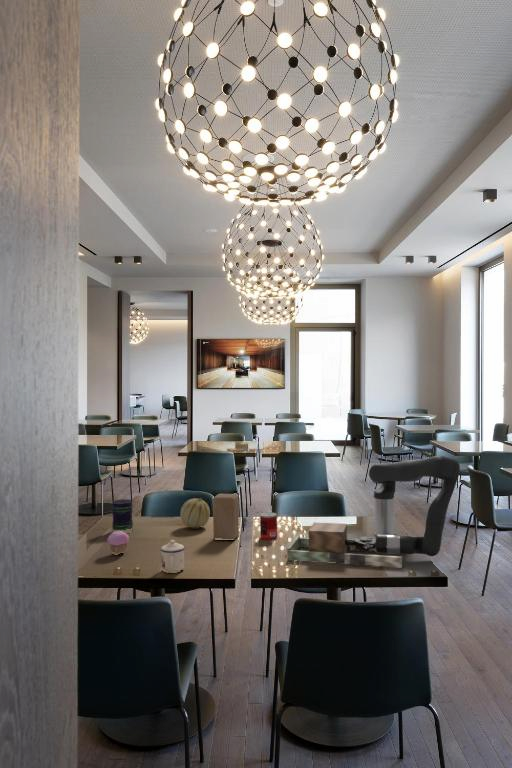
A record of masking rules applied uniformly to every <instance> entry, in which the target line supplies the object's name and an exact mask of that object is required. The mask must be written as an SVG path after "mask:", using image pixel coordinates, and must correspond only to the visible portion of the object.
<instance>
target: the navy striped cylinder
mask: <svg viewBox="0 0 512 768" xmlns="http://www.w3.org/2000/svg"><path fill="white" fill-rule="evenodd" d="M111 504H112V505H111V512H112V513H111V514H112V526H111V527H112V530H113V529H114V530H126V529H131V528H132V527H133V528H134V522H133V500H132V499H116V500H113V501H112V502H111Z"/></svg>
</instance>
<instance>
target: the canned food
mask: <svg viewBox="0 0 512 768" xmlns="http://www.w3.org/2000/svg"><path fill="white" fill-rule="evenodd" d="M277 516H278V514H277V513H276V512H263V513H262V512H261V513H260V515H259V523H260V524H259V526H260V528H259V530H260V531H259V532H260V540H261V539H262V540H264V541H273V540H275V539H277V537H278V517H277Z"/></svg>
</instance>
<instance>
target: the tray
mask: <svg viewBox="0 0 512 768" xmlns="http://www.w3.org/2000/svg"><path fill="white" fill-rule="evenodd" d="M299 547H309V537H301V535H300V534H299V535H298V534H297V535H296V536H295V537H294V539H293V540H292V541H291V543H290V544H289V545H288V547H287V548H286V550H287V552H286V553H287V554H286V559H287V560H297V561H296V562H302V561H317V562H336V563H345V564H344V565H349V564H359V565H358V566H364V565H376V566H375V567H380V566H385V568H397V569H399V568H400V569H401V568H403V556H399V555H398V556H396V555H379V554H366V553H365V554H362V553H348V552H347V553H332V552H315V551H309V550H299V549H300V548H299ZM298 548H299V549H298ZM351 550H359V551H358V552H368V551H371V553H372V551H375V552H374V553H377V552H376V548H374V549H367V550H363V549H359V548H356V547H355V545H354V546H352V545H347V551H351ZM317 562H316V563H317Z"/></svg>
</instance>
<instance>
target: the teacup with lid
mask: <svg viewBox="0 0 512 768" xmlns="http://www.w3.org/2000/svg"><path fill="white" fill-rule="evenodd" d="M160 551H161V570H162V569H165V570H180V569H182V568H184V569H185V546H184V545H183V544H181V543H178V542H176V540H175V539H171V540H169V542H168V543H167V544H164V545H162V546H161V547H160Z"/></svg>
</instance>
